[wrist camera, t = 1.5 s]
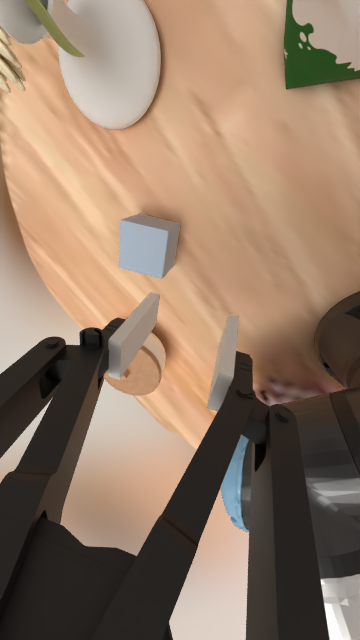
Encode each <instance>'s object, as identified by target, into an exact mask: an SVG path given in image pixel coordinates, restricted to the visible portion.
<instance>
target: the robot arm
mask: <svg viewBox="0 0 360 640" xmlns="http://www.w3.org/2000/svg"><path fill="white" fill-rule="evenodd" d="M159 299H160V295H159V294H155V293H152V292H150V293H149V295H148V296H147V297H146V298H145V299H144V300H143V301H142V302H141V304H140V305H139V306H138V307H137V308H136V309H135V310H134V311H133V313H132V314H131V315H130V316H129V317H128V318H127V319H126V320H125V319H121V318H116V319H114V320H112V321H111V322H110V323H109V324H108V325H107V326H106V327H105V328H104V329H103V330H101V329H99V328H86V329H84V330H82V331H81V332H80V345H66V342H65V340H64V339H62V338H60V337H48V338H45V339H44V340H42V341H41V342H39V343H38V344H37V345H36V346H34V347H33V348H32V349H31V350H29V351H28V352H27V353H26V354H25V355H24V356H22V357H21V358H20V359H19V360H17V361H16V362H15V363H14V364H12V365H11V366H10V367H9V368H7V369H6V370H5V371H4V372H2V373H1V374H0V458H1V457H2V456H3V455H4V453H5V452H6V451H7V450H8V449H9V448H10V446H11V445H12V444H13V443H14V442H15V441H16V439H17V438H18V437H19V436H20V435H21V434H22V433H23V431H24V430H25V429H26V428H27V427H28V425H29V424H30V423H31V422H32V421H33V420H34V419H35V417H36V416H37V415H38V414H39V413H40V412H41V410H42V409H43V408H44V407H45V406H46V405H47V404H48V402H49V401H50V400H51V399H52V400H51V402H50V404H49V406H48V408H47V410H46V412H45V414H44V416H43V418H42V420H41V422H40V424H39V426H38V427H37V429H36V431H35V433H34V435H33V437H32V439H31V441H30V443H29V445H28V447H27V449H26V451H25V453H24V455H23V456H22V458H21V460H20V463H19V464H18V466H17V468H16V469H15V470H14V471H12V472H9V473H8V474H7V475H6V476H5V477H4V479H3V480H2V482H1V483H0V640H173V638H172V634H171V630H170V625H169V620H170V617H171V615H172V612H173V610H174V607H175V605H176V602H177V600H178V597H179V595H180V592H181V589H182V587H183V584H184V582H185V579H186V577H187V574H188V571H189V569H190V566H191V564H192V561H193V559H194V556H195V553H196V550H197V548H198V543H199V541H200V538H201V535H202V533H203V530H204V528H205V525H206V523H207V520H208V518H209V515H210V513H211V510H212V508H213V505H214V502H215V500H216V497H217V495H218V492H219V490H220V488H221V494H222V498H223V502H224V505H225V509H226V511H227V513H228V515H229V516H231V521H232V522H233V524H234V525H235V526H236V527H238V528H239V529H242V530H243V531H245V532H249V558H248V560H249V561H248V590H247V620H246V640H360V293H357V294H354V295H352V296H350V297H348V298H346V299H344V300H343V301H341V302H339V303H338V304H336V305H335V306H334V307H333V308H332V309H330V310H329V311H328V312H327V313H326V315H325V316H324V317H323V318H322V320H321V322H320V323H319V325H318V327H317V330H316V333H315V349H316V352H317V355H318V357H319V360H320V362H321V364H322V366H323V367H324V368H325V370H326V371H327V372H328V373H329V374H330V375H331V376H332V377H333V378H334V379H335V380H337V381H338V382H339V383H340V384H341V385H342V386H343V387H344V388H345V389H346V390H342V391H338V392H334V393H328V394H324V395H319V396H315V397H310V398H306V399H302V400H297V401H293V402H288V403H284V404H275V405H272V406H270V407H269V406H268V405H266V404H264V403H263V402H261V401H260V400H259V399H258V398H257V397H256V395H255V392H254V391H253V378H252V359H251V357H250V355H248V354H245V353H241V352H238V351H236V345H237V334H238V323H239V316H237V315H233V314H229V315H228V318H227V321H226V324H225V327H224V330H223V333H222V337H221V340H220V343H219V348H218V353H217V358H216V363H215V368H214V374H213V379H212V384H211V389H210V394H209V399H208V404H207V408H209V409H212V410H215V411H218V412H217V414H216V416H215V418H214V420H213V422H212V423H211V425H210V427H209V429H208V431H207V433H206V434H205V436H204V438H203V440H202V442H201V444H200V445H199V447H198V449H197V451H196V453H195V455H194V456H193V458H192V460H191V462H190V464H189V466H188V467H187V469H186V471H185V473H184V475H183V477H182V478H181V480H180V482H179V484H178V486H177V488H176V489H175V491H174V493H173V495H172V497H171V499H170V501H169V503H168V504H167V506H166V508H165V510H164V511H163V513H162V515H161V516H160V517H159V518H158V520H157V521H156V523H155V525H154V526H153V528H152V530H151V532H150V533H149V535H148V537H147V539H146V541H145V542H144V544H143V546H142V548H141V550H140V552H139V553H138V555H137V556H135V555H133V554H130V553H128V552H125V551H123V550H120V549H118V548H109V547H88V546H84V545H83V544H82V543H81V542H79V540H77V539H76V538H75V537H74V536H73V535H72V534H71V533H70V532H69V531H68V530H67V529H66V528H65V527H64V526H62V525H60V522H61V516H62V509H63V506H64V502H65V499H66V496H67V493H68V490H69V487H70V483H71V480H72V477H73V474H74V471H75V468H76V465H77V462H78V459H79V455H80V453H81V449H82V446H83V443H84V440H85V437H86V434H87V430H88V428H89V425H90V422H91V418H92V415H93V412H94V409H95V406H96V403H97V400H98V397H99V394H100V391H101V387H102V384H103V381H104V374H105V373H106V371H107V370H108V376H109V377H112V378H115V379H119V380H120V379H121V377H122V375H123V374H124V372H125V371H126V369H127V368H128V366H129V365H130V363H131V362H132V360H133V359H134V357H135V356H136V354H137V353H138V351H139V350H140V348H141V346H142V345H143V343H144V342H145V340H146V339H147V337H148V336H149V334H150V333H151V331H152V330H153V328H154V327H155V325H156V320H157V313H158V306H159Z"/></svg>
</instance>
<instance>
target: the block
mask: <svg viewBox="0 0 360 640" xmlns="http://www.w3.org/2000/svg"><path fill="white" fill-rule="evenodd" d="M180 226H181V223H178V222H173V221H169V220H165V219H160V218H156V217H152V216H147V215H143V214H137V215H134V216H131V217H128V218H125V219H122V220H121V221H120V246H119V268H122V269H126V270H130V271H134V272H137V273H141V274H145V275H149V276H153V277H157V278H160V279H162V278H163V277H164V276H165V275H166V274H167V273H168V271H169V270H170V269H171V268H172V267H173V266H174V263H175V256H176V250H177V244H178V238H179V232H180Z"/></svg>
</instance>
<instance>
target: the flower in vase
mask: <svg viewBox="0 0 360 640" xmlns="http://www.w3.org/2000/svg"><path fill="white" fill-rule="evenodd" d="M0 25H1V27H2V28H3V29H4V30H5V31H6V33H7V34H8V35H9V36H10V37H12V38H13V39H14V40H16V41H18V42H20V43H23V44H33V43H36V42H38V41H40V40H41V39H42V38H43V37H48V38H51V39H53V40H55V41H56V43H57V44H58V53H59V62H60V68H61V72H62V76H63V79H64V82H65V85H66V87H67V90H68V92H69V94H70V96H71V97H72V99H73V101H74V102H75V104H76V105H77V107H78V108H79V109H80V111H81V112H82V113H83V114H84V115H85V116H86V117H87V118H88V119H89V120H90V121H92V122H93V123H94V124H96V125H98V126H100V127H103V128H106V129H111V130H118V129H123V128H126V127H129V126H131V125H132V124H134V123H135V122H137V121H138V120H139V119H140V118H141V117H142V116H143V115H144V114H145V112H146V111H147V109H148V108H149V106H150V104H151V102H152V100H153V98H154V96H155V93H156V90H157V86H158V82H159V76H160V67H161V51H160V42H159V37H158V32H157V29H156V25H155V22H154V20H153V17H152V15H151V12H150V10H149V9H148V7H147V5H146V3H145V2H144V0H69V1H68V2H67V4H65V3H64V1H63V0H0ZM7 45H11V42H10V40H9V39H8V37H7V36H6V34H5V33H4V32H3V30H2V29H1V28H0V87H1V88H2V89H3V90H4V91H6V92H7V93H11V91H10V88H9V86H8V84H7V83H6V81H7V77H8V78H9V79H10V80H11V81H12V82H13V83H14V84H15V85H16V86H17V87H18V88H19V89H21V90H22V91H25V87H24V85H23V83H22V82H21V80H23V81H26V79H25V76H24V74H23V73H22V71H21V70H20V68H22V66H21V63H20V62H19V60H18V59H17V57H16V56H15V54H14V53H13V52H12V51H11V49H10V48H9V47H8V46H7ZM19 78H20V79H21V80H20V79H19Z"/></svg>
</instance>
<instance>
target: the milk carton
mask: <svg viewBox="0 0 360 640" xmlns="http://www.w3.org/2000/svg"><path fill="white" fill-rule="evenodd" d="M284 59H285V78H286V89H290V88H297V87H303V86H310V85H317V84H323V83H330V82H336V81H343V80H350V79H356V78H360V0H287V8H286V22H285V34H284Z"/></svg>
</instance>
